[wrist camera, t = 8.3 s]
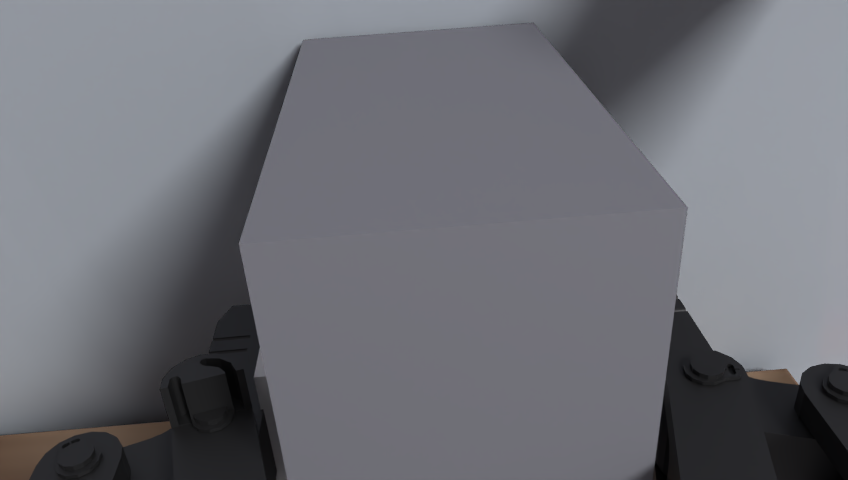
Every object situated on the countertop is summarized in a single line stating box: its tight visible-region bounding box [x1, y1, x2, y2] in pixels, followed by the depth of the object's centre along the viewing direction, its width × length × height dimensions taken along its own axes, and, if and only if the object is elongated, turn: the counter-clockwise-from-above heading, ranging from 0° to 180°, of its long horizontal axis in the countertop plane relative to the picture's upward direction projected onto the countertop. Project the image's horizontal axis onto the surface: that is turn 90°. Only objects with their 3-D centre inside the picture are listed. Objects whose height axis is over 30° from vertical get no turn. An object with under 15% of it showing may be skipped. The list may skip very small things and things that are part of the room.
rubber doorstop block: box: [239, 23, 688, 480], centre depth 15 cm, size 5×10×9 cm, turn 3°
